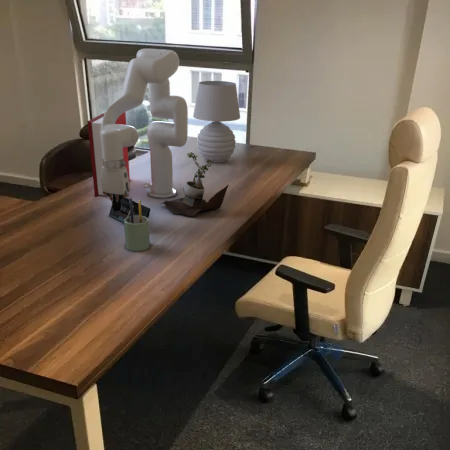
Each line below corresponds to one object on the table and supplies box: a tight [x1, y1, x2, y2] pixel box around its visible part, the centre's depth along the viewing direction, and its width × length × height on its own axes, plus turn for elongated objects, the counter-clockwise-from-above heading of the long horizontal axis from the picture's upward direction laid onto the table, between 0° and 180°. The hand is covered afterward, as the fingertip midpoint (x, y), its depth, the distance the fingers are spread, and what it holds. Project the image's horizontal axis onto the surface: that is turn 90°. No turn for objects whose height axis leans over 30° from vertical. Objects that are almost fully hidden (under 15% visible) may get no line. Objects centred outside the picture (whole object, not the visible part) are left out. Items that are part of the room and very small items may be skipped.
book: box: [87, 111, 131, 197], centre depth 233 cm, size 27×8×32 cm, turn 172°
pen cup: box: [123, 197, 151, 252], centre depth 179 cm, size 8×8×18 cm
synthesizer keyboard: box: [108, 197, 151, 224], centre depth 200 cm, size 22×10×10 cm
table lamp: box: [192, 80, 241, 163], centre depth 279 cm, size 25×25×40 cm
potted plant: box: [160, 151, 230, 217], centre depth 214 cm, size 20×19×25 cm
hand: (117, 210), depth 201 cm, fingers closed
